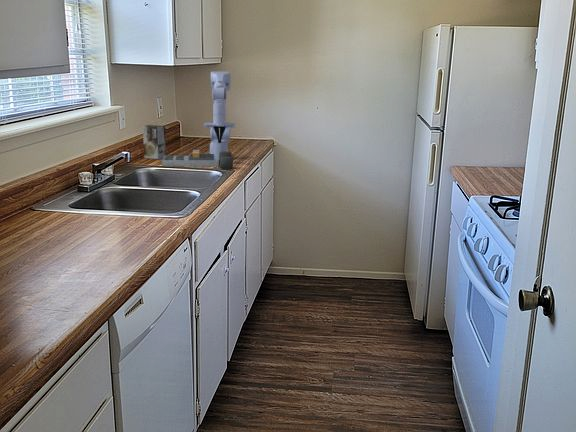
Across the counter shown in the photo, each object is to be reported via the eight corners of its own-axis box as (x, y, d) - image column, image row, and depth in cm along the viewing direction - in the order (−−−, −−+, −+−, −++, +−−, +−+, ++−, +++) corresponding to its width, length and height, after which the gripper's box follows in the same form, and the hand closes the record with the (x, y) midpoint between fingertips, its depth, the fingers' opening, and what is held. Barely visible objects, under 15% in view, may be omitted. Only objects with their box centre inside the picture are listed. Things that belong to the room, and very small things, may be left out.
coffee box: (166, 157, 293) (165, 125, 289) (158, 159, 287) (157, 126, 283) (151, 156, 296) (150, 124, 292) (143, 157, 291) (142, 125, 287)
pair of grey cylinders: (231, 161, 286) (231, 151, 285) (233, 169, 266) (233, 158, 265) (219, 161, 286) (219, 151, 284) (220, 169, 265) (220, 158, 264)
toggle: (199, 158, 275) (199, 151, 275) (199, 159, 272) (199, 153, 271) (192, 158, 275) (192, 151, 274) (192, 159, 271) (192, 153, 270)
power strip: (218, 161, 285) (218, 149, 283) (218, 166, 272) (218, 153, 271) (164, 161, 281) (163, 149, 279) (162, 166, 269) (161, 153, 267)
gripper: (203, 114, 267) (204, 143, 270) (235, 114, 269) (235, 144, 272) (203, 112, 274) (204, 141, 277) (234, 113, 276) (234, 142, 279)
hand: (219, 142), depth 275 cm, fingers closed
